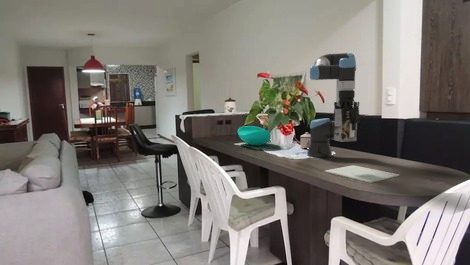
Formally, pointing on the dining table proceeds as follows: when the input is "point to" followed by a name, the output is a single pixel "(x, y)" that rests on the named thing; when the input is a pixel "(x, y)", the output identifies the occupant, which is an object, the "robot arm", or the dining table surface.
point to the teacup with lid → (305, 140)
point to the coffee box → (343, 126)
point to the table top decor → (254, 135)
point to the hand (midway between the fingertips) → (345, 136)
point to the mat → (362, 173)
